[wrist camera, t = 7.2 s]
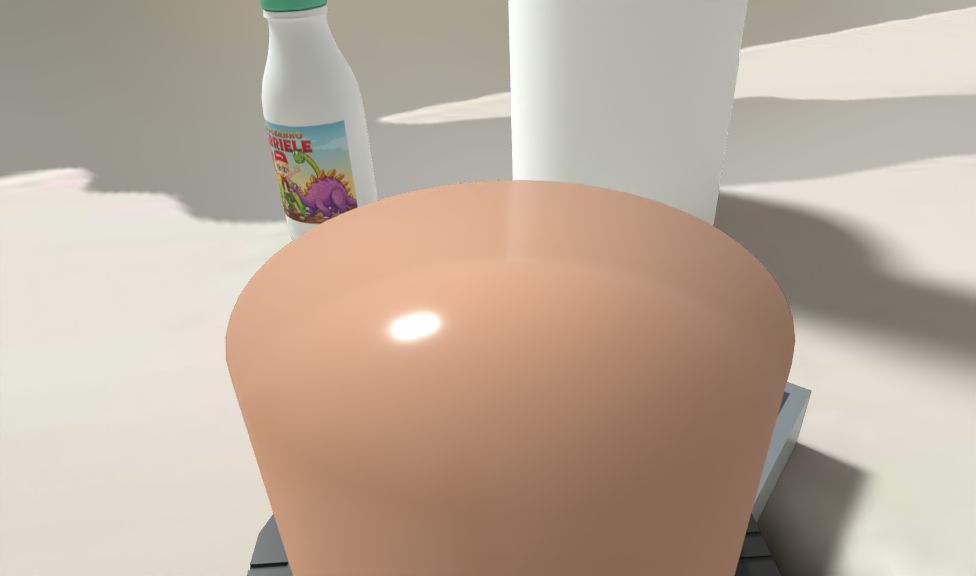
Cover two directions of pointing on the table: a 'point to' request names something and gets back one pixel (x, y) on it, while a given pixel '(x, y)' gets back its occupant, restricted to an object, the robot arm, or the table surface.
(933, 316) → the table surface
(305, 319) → the pillar candle
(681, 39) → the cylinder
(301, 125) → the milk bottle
